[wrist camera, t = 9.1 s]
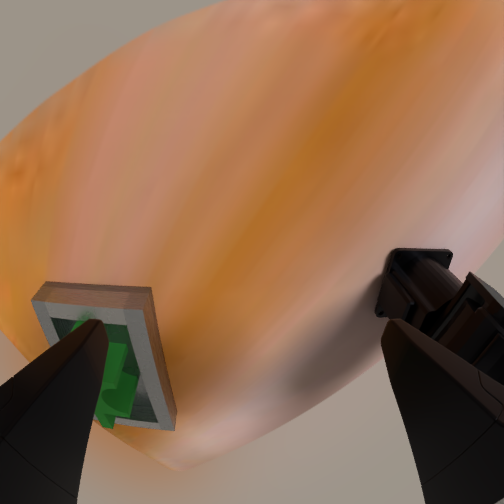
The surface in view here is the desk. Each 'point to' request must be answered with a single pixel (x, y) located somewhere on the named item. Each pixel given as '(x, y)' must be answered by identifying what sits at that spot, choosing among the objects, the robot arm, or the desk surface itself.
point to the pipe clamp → (114, 386)
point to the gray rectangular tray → (116, 339)
